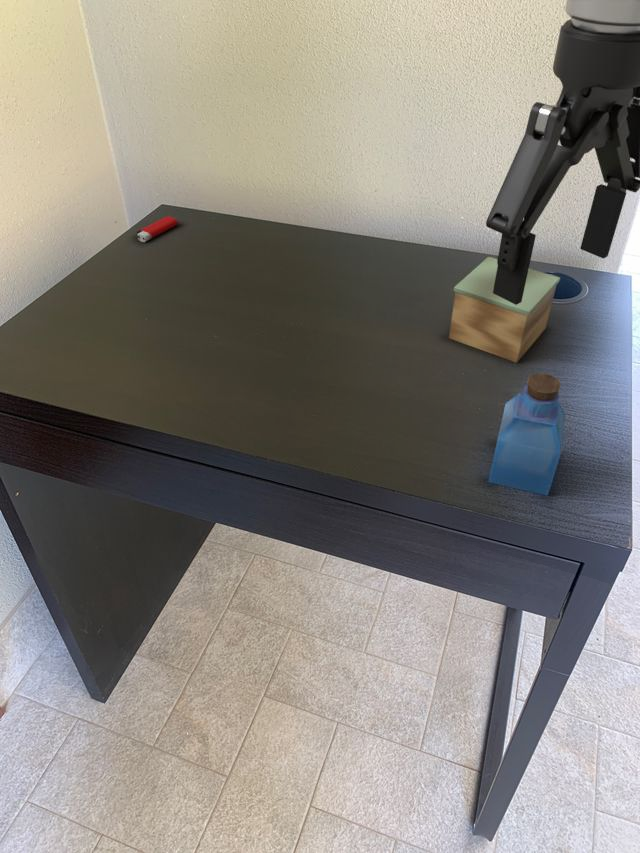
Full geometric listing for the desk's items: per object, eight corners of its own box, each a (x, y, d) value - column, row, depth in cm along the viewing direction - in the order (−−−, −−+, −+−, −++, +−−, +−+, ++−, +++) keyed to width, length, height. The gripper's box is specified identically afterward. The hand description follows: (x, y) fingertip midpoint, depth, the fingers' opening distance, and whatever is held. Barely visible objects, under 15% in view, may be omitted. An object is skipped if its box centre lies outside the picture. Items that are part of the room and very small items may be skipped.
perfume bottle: (547, 495, 72) (574, 408, 64) (488, 482, 74) (507, 395, 66) (552, 457, 76) (578, 370, 68) (496, 445, 78) (515, 359, 70)
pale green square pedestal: (547, 328, 96) (560, 277, 91) (517, 364, 90) (529, 311, 84) (479, 306, 101) (488, 256, 95) (446, 338, 94) (453, 287, 89)
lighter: (177, 219, 120) (144, 236, 116) (178, 226, 121) (145, 243, 116) (165, 215, 122) (132, 232, 117) (166, 222, 122) (134, 239, 118)
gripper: (657, -6, 60) (594, 224, 74) (465, 38, 48) (433, 302, 62) (742, 7, 55) (658, 249, 69) (554, 59, 43) (498, 337, 57)
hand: (552, 274), depth 66 cm, fingers open, 13 cm apart
